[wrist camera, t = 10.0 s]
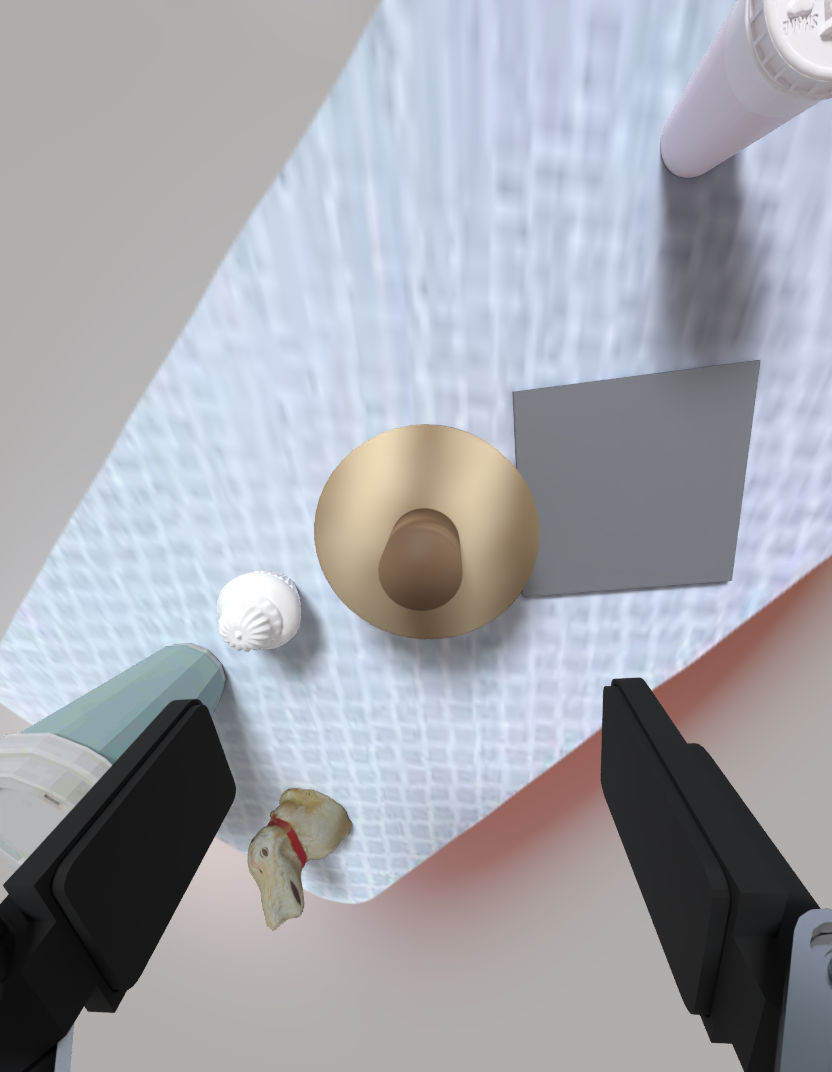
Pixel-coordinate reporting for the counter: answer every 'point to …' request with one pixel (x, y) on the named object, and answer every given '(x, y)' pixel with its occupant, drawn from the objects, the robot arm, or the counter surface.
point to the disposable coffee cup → (91, 742)
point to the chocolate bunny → (293, 849)
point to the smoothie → (750, 82)
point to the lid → (426, 532)
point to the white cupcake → (259, 611)
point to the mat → (636, 477)
